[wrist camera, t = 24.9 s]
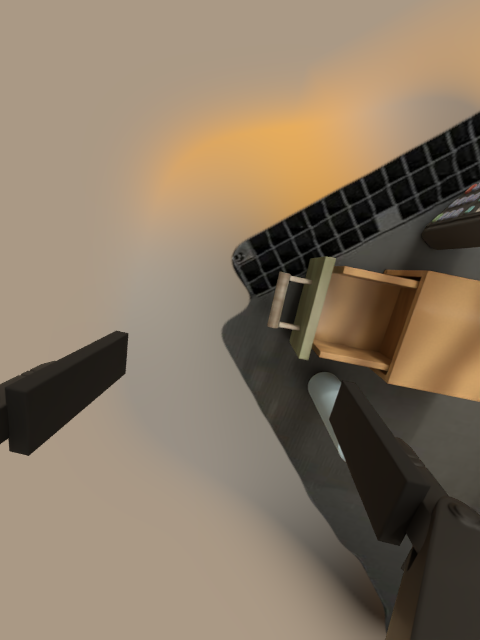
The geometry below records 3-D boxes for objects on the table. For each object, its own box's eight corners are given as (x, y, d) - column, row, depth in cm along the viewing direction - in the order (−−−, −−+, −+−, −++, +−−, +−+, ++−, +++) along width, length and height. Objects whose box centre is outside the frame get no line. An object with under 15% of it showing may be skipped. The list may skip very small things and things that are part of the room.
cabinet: (356, 357, 37) (387, 383, 29) (384, 269, 34) (428, 270, 26) (447, 375, 37) (504, 406, 29) (483, 289, 34) (557, 297, 26)
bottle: (319, 366, 37) (375, 441, 21) (346, 381, 38) (420, 467, 22) (301, 391, 38) (341, 480, 22) (327, 406, 39) (384, 505, 23)
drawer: (261, 336, 36) (264, 351, 29) (280, 252, 33) (288, 248, 27) (377, 359, 36) (406, 379, 29) (405, 277, 33) (443, 280, 27)
